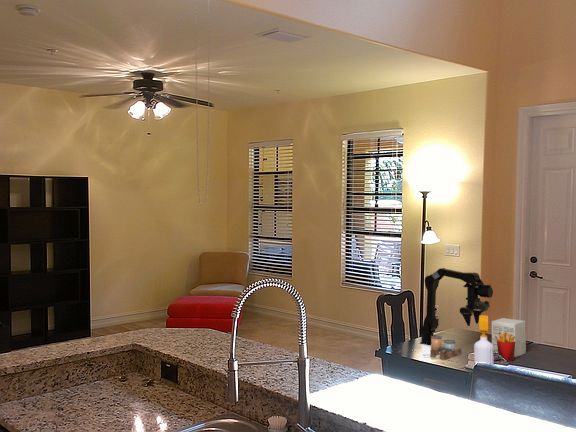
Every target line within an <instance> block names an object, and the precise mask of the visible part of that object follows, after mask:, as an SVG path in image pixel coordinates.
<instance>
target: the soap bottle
mask: <svg viewBox="0 0 576 432" xmlns="http://www.w3.org/2000/svg"><path fill="white" fill-rule="evenodd" d="M478 326H479V327H478V329H479V330H478V331H479V332H480V333H481V335H479V338H480V339H479V340H478V341H476V342H475V343H474V345H473V349H474V350H473V354H474V355H473V357H474V358H473V359H474V360H473V363H476V362H487V363H494V355H495V354H493V344H492V342H490V341H489V340H488V335H486V334H487V333H488V332H489V316H488V315H484V314H483V315H482V314H481V315H480V316H479V322H478ZM494 364H495V363H494Z"/></svg>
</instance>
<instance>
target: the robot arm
mask: <svg viewBox="0 0 576 432" xmlns="http://www.w3.org/2000/svg"><path fill="white" fill-rule="evenodd" d="M444 277H447V278H453V279H457V280H460V281H463V282H464V283H465V284H464V285H463V288H466V289H467V290H466V291H467V292H466V294H467V297H465V300H467V303H466V305H465V306H462V307H460V308H459V313H460V315H462V317H463V319H464V320H465V323H466V325H467V327H470V326H471V319H472V316H473V318H474V322H475V324H477V325H479V316H480V315H482V314H483V313H484V312H487V311H488V310H489V308H490V302H489V301H488V300H485V301H481V298H487V299H488V298H489V299H491V298H492V297H493V295H494V290H493V288H492V285H491V284H485V283H484V282H483V281H482V279H481V276H480V274H479V273H477V272H463V271H457V270H453V269H448V268H445V267H442V268H438V269H437V270H436V271H434V272H433V273H431V274H429V275H426V276H425V278H424V286H425V289H426V290H427V291H426V314H425V315H426V316H425V317H424V319H423V325H422V326H421V327H420V328H419V329H418V330H419V333H420V336H421V337H420V339H421V341H420V342H419V344H423V345H427V346H431V336H432V335H435V334H434V333H436V330H437V329H438V328H439V326H440V325H439V321H440V320H439V319H440V318H437V317H436V302H437V301H436V297H437V295H436V294H437V290H438V287H439V283H440V281H441V280H442V279H443V278H444ZM480 297H481V298H480Z"/></svg>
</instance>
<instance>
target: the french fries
mask: <svg viewBox="0 0 576 432" xmlns="http://www.w3.org/2000/svg"><path fill="white" fill-rule="evenodd" d="M506 336H508V338H507V339H506ZM511 336H512V334H510V337H509V334H508V333H507V332H505V333H504V334H502V336H501V331H499V338H500V340H499V339H498V338H497V336H496V335H495V338H496V339H497V340H498V341H497V347H498V354H499V355H501V356H502V357H503V358H504V359H505V360H507V361H511V362H514V358H515V357H514V350H515V342H514V339H515V336H513V337H512V338H511ZM498 354H497V355H498Z"/></svg>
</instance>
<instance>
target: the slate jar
mask: <svg viewBox="0 0 576 432" xmlns="http://www.w3.org/2000/svg"><path fill="white" fill-rule="evenodd" d="M443 343H444V344H443V345H444V346H443V347H444V348H449V349H452V351H453V350H456V340H455V339H444V340H443Z"/></svg>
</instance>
